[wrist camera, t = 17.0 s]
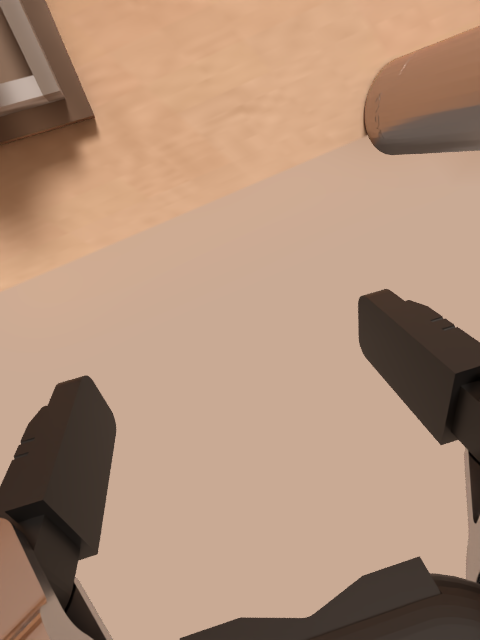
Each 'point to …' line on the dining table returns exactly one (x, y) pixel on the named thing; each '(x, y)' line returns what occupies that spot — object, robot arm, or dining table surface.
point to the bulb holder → (35, 73)
